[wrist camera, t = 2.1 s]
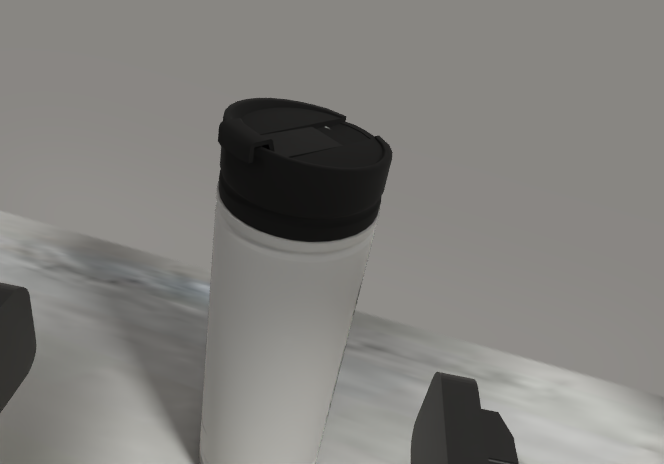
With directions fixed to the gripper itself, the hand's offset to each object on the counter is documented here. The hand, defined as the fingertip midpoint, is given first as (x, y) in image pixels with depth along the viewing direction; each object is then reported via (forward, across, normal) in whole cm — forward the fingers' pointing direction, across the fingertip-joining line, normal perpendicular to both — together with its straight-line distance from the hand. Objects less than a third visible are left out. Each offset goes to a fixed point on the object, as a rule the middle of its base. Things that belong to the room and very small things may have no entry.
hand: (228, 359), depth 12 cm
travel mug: (+11, 0, +20) cm, 23 cm away
